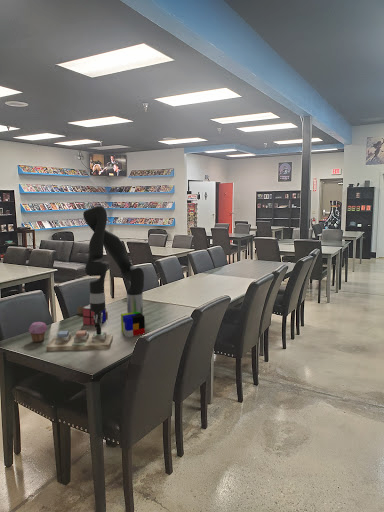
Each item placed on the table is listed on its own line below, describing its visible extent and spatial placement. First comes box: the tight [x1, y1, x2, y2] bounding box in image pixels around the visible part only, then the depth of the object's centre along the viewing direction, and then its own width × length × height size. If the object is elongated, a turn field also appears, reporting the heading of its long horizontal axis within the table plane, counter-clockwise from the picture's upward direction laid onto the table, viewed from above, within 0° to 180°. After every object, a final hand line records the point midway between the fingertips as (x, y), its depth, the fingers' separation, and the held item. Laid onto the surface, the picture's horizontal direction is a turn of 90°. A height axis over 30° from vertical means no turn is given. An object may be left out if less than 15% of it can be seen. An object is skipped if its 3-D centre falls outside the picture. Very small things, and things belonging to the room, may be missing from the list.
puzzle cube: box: [82, 303, 107, 326], centre depth 227 cm, size 10×10×10 cm
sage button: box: [94, 331, 105, 336], centre depth 196 cm, size 4×4×2 cm
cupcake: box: [28, 321, 48, 343], centre depth 199 cm, size 9×9×10 cm
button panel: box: [46, 331, 114, 352], centre depth 194 cm, size 30×14×4 cm, turn 94°
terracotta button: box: [75, 329, 88, 337], centre depth 195 cm, size 4×4×2 cm
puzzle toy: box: [120, 312, 146, 338], centre depth 210 cm, size 10×10×10 cm
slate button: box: [56, 330, 70, 337], centre depth 194 cm, size 4×4×2 cm
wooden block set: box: [76, 305, 108, 319], centre depth 241 cm, size 17×6×18 cm
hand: (98, 333), depth 196 cm, fingers closed
